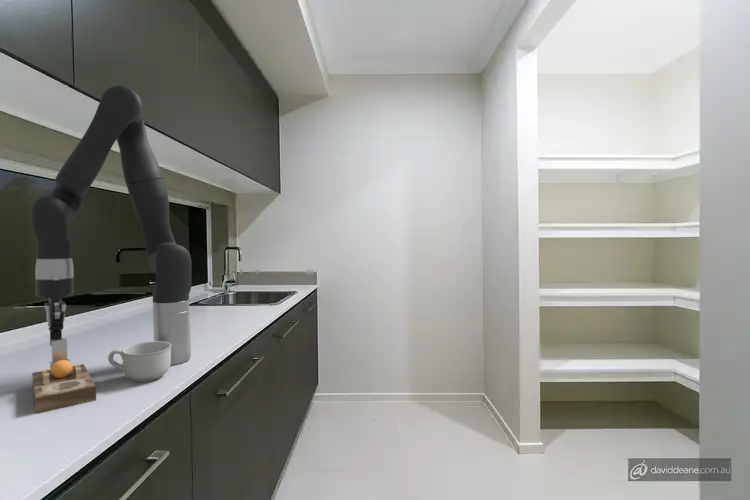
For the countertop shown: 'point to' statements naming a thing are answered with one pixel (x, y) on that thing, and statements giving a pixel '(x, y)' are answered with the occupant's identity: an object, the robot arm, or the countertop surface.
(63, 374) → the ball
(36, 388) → the wooden holder
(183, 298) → the robot arm
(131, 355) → the teacup
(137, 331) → the countertop surface
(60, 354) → the grey upright block
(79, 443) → the countertop surface
